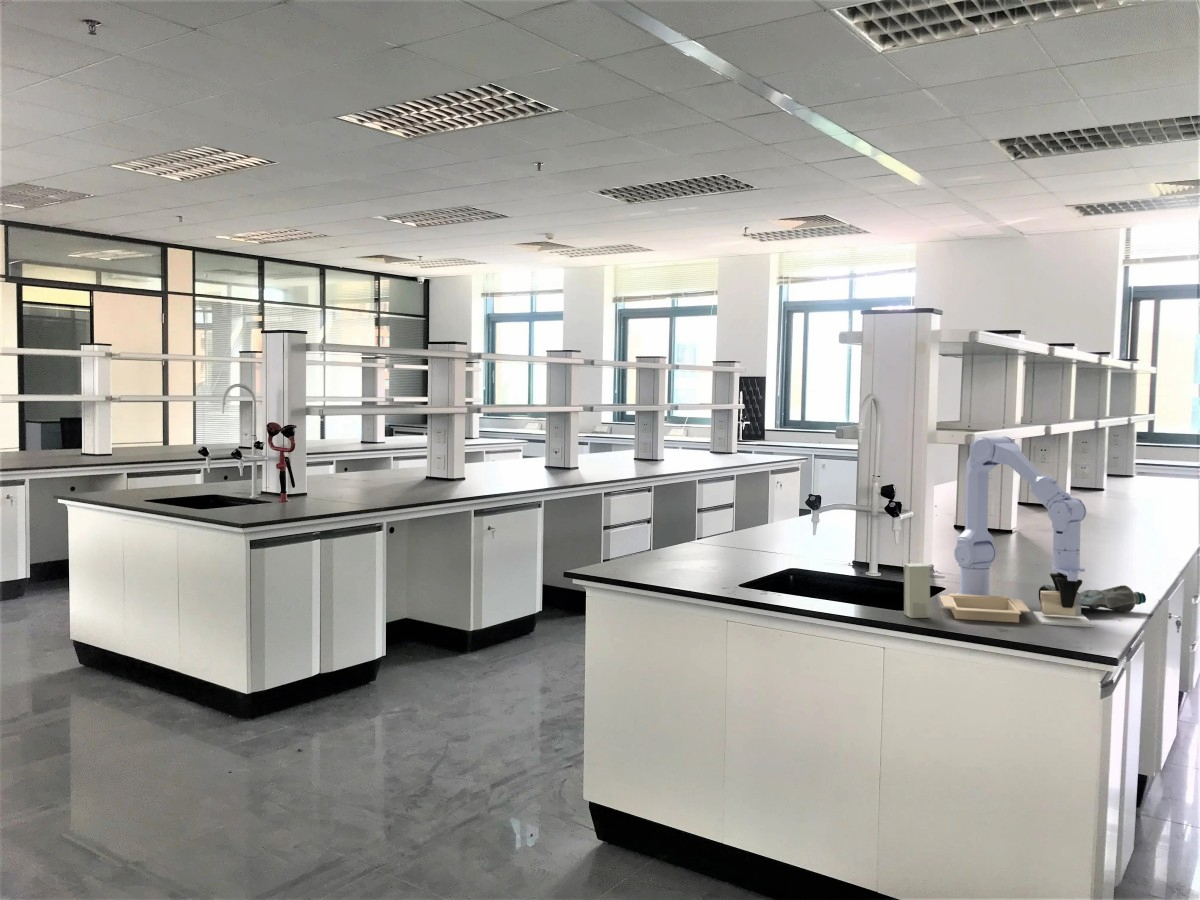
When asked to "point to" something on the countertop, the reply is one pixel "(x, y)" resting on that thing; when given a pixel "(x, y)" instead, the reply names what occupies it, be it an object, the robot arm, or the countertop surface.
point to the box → (917, 590)
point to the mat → (1063, 620)
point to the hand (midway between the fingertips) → (1065, 605)
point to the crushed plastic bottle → (1107, 598)
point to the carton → (984, 607)
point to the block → (1058, 604)
